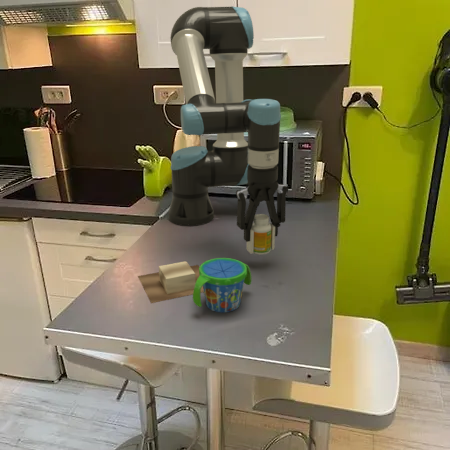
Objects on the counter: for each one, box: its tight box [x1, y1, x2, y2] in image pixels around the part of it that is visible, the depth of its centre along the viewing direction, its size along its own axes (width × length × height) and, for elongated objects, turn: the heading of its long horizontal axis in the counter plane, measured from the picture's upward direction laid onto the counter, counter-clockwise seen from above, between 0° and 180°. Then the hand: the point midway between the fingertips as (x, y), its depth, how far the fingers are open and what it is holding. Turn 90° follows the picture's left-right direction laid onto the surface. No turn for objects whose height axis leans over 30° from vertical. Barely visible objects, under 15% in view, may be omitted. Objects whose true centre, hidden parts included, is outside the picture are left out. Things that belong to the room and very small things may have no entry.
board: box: [137, 264, 204, 304], centre depth 119 cm, size 14×16×1 cm
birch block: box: [158, 261, 195, 294], centre depth 117 cm, size 7×7×4 cm
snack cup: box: [192, 257, 253, 313], centre depth 108 cm, size 16×10×10 cm
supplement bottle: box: [252, 213, 272, 256], centre depth 126 cm, size 5×5×10 cm
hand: (260, 249), depth 128 cm, fingers closed on supplement bottle, 5 cm apart
